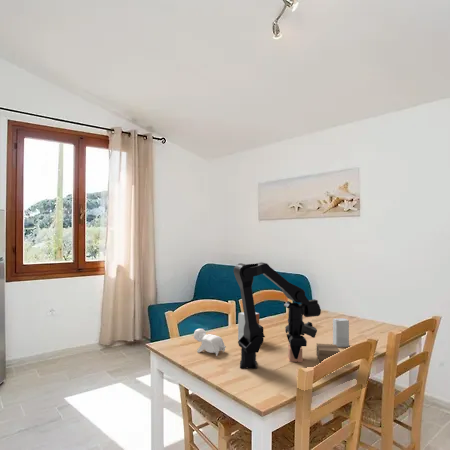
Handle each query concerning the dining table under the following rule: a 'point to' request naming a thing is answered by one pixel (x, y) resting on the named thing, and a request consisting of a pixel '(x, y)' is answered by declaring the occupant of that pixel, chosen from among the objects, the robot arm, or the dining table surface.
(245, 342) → the robot arm
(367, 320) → the dining table surface
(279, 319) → the dining table surface
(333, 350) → the walnut block
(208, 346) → the white animal figurine
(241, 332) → the small box
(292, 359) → the terracotta cube
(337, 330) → the skincare box
